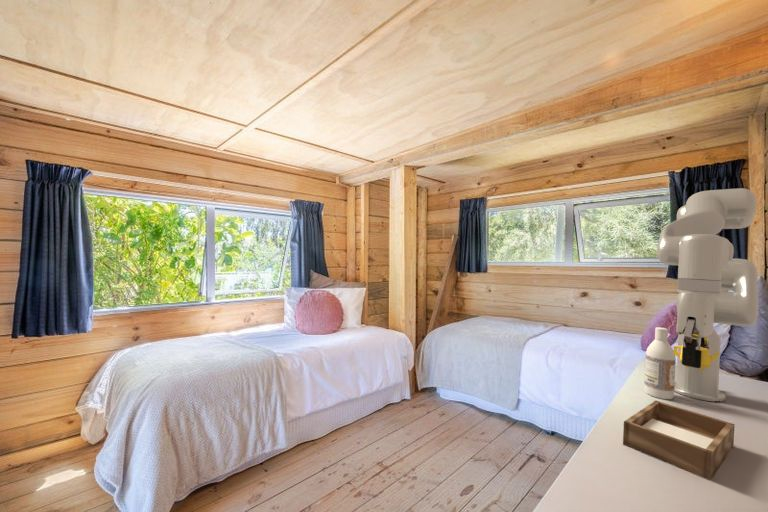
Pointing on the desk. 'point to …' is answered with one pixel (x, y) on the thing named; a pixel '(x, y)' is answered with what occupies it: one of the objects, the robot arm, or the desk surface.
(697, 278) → the robot arm
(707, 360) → the teapot
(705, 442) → the plate
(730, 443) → the box
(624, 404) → the desk surface
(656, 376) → the bath foam
